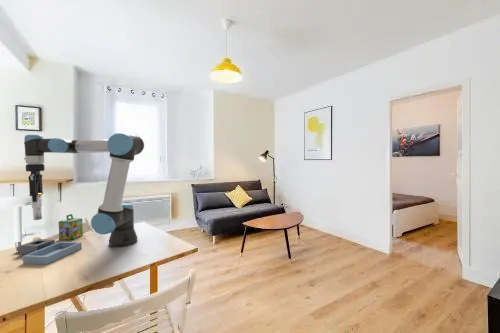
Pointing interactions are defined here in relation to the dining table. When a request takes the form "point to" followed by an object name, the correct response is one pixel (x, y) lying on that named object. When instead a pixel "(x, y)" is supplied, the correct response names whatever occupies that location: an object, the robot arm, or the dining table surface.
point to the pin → (37, 210)
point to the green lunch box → (70, 228)
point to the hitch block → (34, 246)
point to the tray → (52, 253)
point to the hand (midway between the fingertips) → (37, 206)
